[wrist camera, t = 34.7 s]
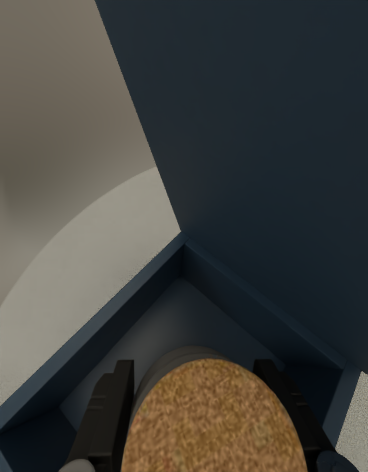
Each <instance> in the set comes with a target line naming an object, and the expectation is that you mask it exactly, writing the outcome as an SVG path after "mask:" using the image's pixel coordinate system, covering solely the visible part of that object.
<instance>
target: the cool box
mask: <svg viewBox="0 0 368 472" xmlns="http://www.w3.org/2000/svg"><path fill="white" fill-rule="evenodd" d="M192 345H194V346H203V347H208V348H211V349H214V350H216V351H218V352H220V353H222V354H223V355H225V356H226V357H228V358H229V359H230V360H232V361H234V362H235V363H236V364H238V365H241V366H242V367H244V368H246V369H248V370H249V371H251V372H253V366H254V361H255V359H272V360H273V362H274V363H275V365H276V367H277V369H278V371H284V372H285V373H286V374H287V375H289V376H290V377H291V378H292V379H293V380H294V381H295V383H296V385H297V386H298V388H299V390H300V391H301V393H302V396H304V398H305V400H306V402H307V403H308V406H309V407H310V408H311V410H312V412H313V413H314V415H315V417H316V418H317V420H318V422H319V423H320V425H321V427H322V428H323V430H324V432H325V433H326V435H327V437H328V439H329V440H330V442H331V444H332V445H333V447H334V448H335V447H336V444H337V441H338V438H339V435H340V432H341V429H342V426H343V423H344V420H345V417H346V414H347V411H348V408H349V406H350V403H351V400H352V397H353V394H354V391H355V388H356V385H357V382H358V379H359V376H360V373H361V370H360V369H359V368H358V367H356V366H355V365H354V364H352V363H351V362H350V361H349V360H347V359H346V358H345V357H343V356H342V355H341V354H340V353H338V352H337V351H336V350H334V349H333V348H332V347H331V346H329V345H328V344H327V343H325V342H324V341H323V340H322V339H320V338H319V337H318V336H316V335H315V334H314V333H312V332H311V331H310V330H309V329H307V328H306V327H305V326H303V325H302V324H301V323H300V322H298V321H297V320H296V319H294V318H293V317H292V316H291V315H289V314H288V313H287V312H285V311H284V310H283V309H282V308H280V307H279V306H278V305H276V304H275V303H274V302H273V301H271V300H270V299H269V298H267V297H266V296H265V295H264V294H262V293H261V292H260V291H258V290H257V289H256V288H255V287H253V286H252V285H251V284H249V283H248V282H247V281H245V280H244V279H243V278H242V277H240V276H239V275H238V274H236V273H235V272H234V271H233V270H231V269H230V268H229V267H227V266H226V265H225V264H224V263H222V262H221V261H220V260H218V259H217V258H216V257H215V256H213V255H212V254H211V253H209V252H208V251H207V250H206V249H204V248H203V247H202V246H200V245H199V244H198V243H197V242H195V241H194V240H193V239H191V238H190V237H189V236H188V235H186V234H185V233H184V232H182V231H181V232H180V233H179V234H178V235H177V236H176V237H175V238H174V239H173V240H172V241H171V242H170V243H169V244H168V245H167V246H166V247H165V248H164V249H163V250H162V251H161V252H160V253H159V254H158V255H156V256H155V257H154V258H153V259H152V260H151V261H150V262H149V263H148V264H147V265H146V266H145V267H144V268H143V269H142V270H141V271H140V272H139V273H138V274H137V275H136V276H135V277H134V278H133V279H132V280H131V281H130V282H128V283H127V284H126V285H125V286H124V287H123V288H122V289H121V290H120V291H119V292H118V293H117V294H116V295H115V296H114V297H113V298H112V299H111V300H110V301H109V302H108V303H107V304H106V305H105V306H104V307H103V308H102V309H100V310H99V311H98V312H97V313H96V314H95V315H94V316H93V317H92V318H91V319H90V320H89V321H88V322H87V323H86V324H85V325H84V326H83V327H82V328H81V329H80V330H79V331H78V332H77V333H76V334H75V335H74V336H72V337H71V338H70V339H69V340H68V341H67V342H66V343H65V344H64V345H63V346H62V347H61V348H60V349H59V350H58V351H57V352H56V353H55V354H54V355H53V356H52V357H51V358H50V359H49V360H48V361H47V362H46V363H44V364H43V365H42V366H41V367H40V368H39V369H38V370H37V371H36V372H35V373H34V374H33V375H32V376H31V377H30V378H29V379H28V380H27V381H26V382H25V383H24V384H23V385H22V386H21V387H20V388H19V389H18V390H16V391H15V392H14V393H13V394H12V395H11V396H10V397H9V398H8V399H7V400H6V401H5V402H4V403H3V404H2V405H1V406H0V472H58V471H59V470H60V469H61V468H62V466H63V465H64V463H65V462H66V460H67V458H68V455H69V453H70V450H71V448H72V445H73V442H74V440H75V437H76V434H77V432H78V429H79V426H80V424H81V421H82V419H83V416H84V413H85V411H86V409H87V405H88V403H89V400H90V399H91V395H92V392H93V389H94V387H95V384H96V383H97V381H98V380H99V379H100V378H101V376H102V375H103V374H104V373H113V372H114V369H115V366H116V362H117V360H134V378H135V389H134V396H135V393H136V391H137V389H138V386H139V384H140V382H141V380H142V378H143V377H144V375H145V374H146V372H147V371H148V370H149V368H150V367H151V366H152V365H153V364H154V363H155V362H156V361H157V360H158V359H159V358H160V357H162V356H163V355H165V354H166V353H168V352H170V351H172V350H174V349H177V348H180V347H184V346H192ZM133 399H134V398H133ZM128 428H129V426H128ZM127 435H128V432H127ZM126 441H127V438H126ZM125 444H126V443H125ZM121 466H122V465H121ZM120 472H121V471H120Z"/></svg>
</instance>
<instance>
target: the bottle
mask: <svg viewBox="0 0 368 472" xmlns="http://www.w3.org/2000/svg"><path fill="white" fill-rule="evenodd" d="M121 472H308V471H307V466H306V461H305V456H304V453H303V449H302V446H301V443H300V440H299V437H298V434H297V432H296V429H295V427H294V425H293V422H292V420H291V418H290V417H289V415H288V413H287V411H286V409H285V407H284V406H283V405H282V403H281V402H280V400H279V399H278V398H277V396H276V395H275V394H274V392H273V391H272V390H271V389H270V388H269V387H268V386H267V385H266V384H265V383H264V382H263V381H262V380H261V379H260V378H259V377H258V376H256V375H255V374H254V373H252V372H251V371H249V370H248V369H246V368H244V367H242V366H241V365H238V364H236V363H235V362H234V361H232V360H230V359H229V358H228V357H226V356H225V355H223V354H222V353H220V352H218V351H216V350H214V349H211V348H208V347H203V346H194V345H192V346H184V347H180V348H177V349H174V350H172V351H170V352H168V353H166V354H165V355H163V356H162V357H160V358H159V359H158V360H157V361H156V362H155V363H154V364H153V365H152V366H151V367H150V368H149V370H148V371H147V372H146V374H145V375H144V377H143V378H142V380H141V382H140V384H139V386H138V389H137V391H136V393H135V396H134V399H133V403H132V406H131V411H130V418H129V428H128V435H127V441H126V444H125V448H124V454H123V459H122V466H121Z"/></svg>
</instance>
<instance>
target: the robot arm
mask: <svg viewBox="0 0 368 472" xmlns="http://www.w3.org/2000/svg"><path fill="white" fill-rule="evenodd" d="M252 373H254V374H255V375H256V376H258V377H259V378H260V379H261V380H262V381H263V382H264V383H265V384H266V385H267V386H268V387H269V388H270V389H271V390H272V391H273V392H274V394H275V395H276V396H277V398H278V399H279V400H280V402H281V403H282V405H283V406H284V407H285V409H286V411H287V413H288V415H289V417H290V418H291V420H292V422H293V425H294V427H295V429H296V432H297V434H298V437H299V440H300V443H301V446H302V449H303V453H304V456H305V461H306V466H307V471H308V472H359V471H358V470H357V468H356V467H355V466H354V465H353V464H352V463H351V462H350V461H349V460H347V459H346V458H345V457H343V456H342V455H340V454H338V453H337V451H336V450H335V448H334V447H333V445H332V444H331V442H330V440H329V439H328V437H327V435H326V433H325V432H324V430H323V428H322V427H321V425H320V423H319V422H318V420H317V418H316V417H315V415H314V413H313V412H312V410H311V408H310V407H309V406H308V403H307V402H306V400H305V398H304V396H302V393H301V391H300V390H299V388H298V386H297V385H296V383H295V381H294V380H293V379H292V378H291V377H290V376H289V375H287V374H286V373H285V372H284V371H278V369H277V367H276V365H275V363H274V362H273V360H272V359H255V361H254V366H253V372H252ZM134 389H135V378H134V360H117V362H116V366H115V369H114V372H113V373H104V374H103V375H102V376H101V378H100V379H99V380H98V381H97V383H96V384H95V387H94V389H93V392H92V395H91V399H90V400H89V403H88V405H87V409H86V411H85V413H84V416H83V419H82V421H81V424H80V426H79V429H78V432H77V434H76V437H75V440H74V442H73V445H72V448H71V450H70V453H69V455H68V458H67V460H66V462H65V463H64V465H63V466H62V468H61V469H60V470H59V471H58V472H120V471H121V465H122V459H123V454H124V448H125V443H126V438H127V432H128V426H129V418H130V411H131V406H132V403H133V398H134Z"/></svg>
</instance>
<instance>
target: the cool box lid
mask: <svg viewBox="0 0 368 472" xmlns="http://www.w3.org/2000/svg"><path fill="white" fill-rule="evenodd" d="M95 2H96V4H97V8H98V10H99V12H100V16H101V18H102V21H103V24H104V26H105V29H106V31H107V34H108V37H109V40H110V42H111V45H112V47H113V50H114V53H115V55H116V58H117V61H118V64H119V66H120V69H121V72H122V74H123V77H124V80H125V82H126V85H127V88H128V90H129V93H130V96H131V98H132V101H133V104H134V106H135V109H136V112H137V114H138V117H139V120H140V123H141V125H142V128H143V131H144V133H145V136H146V138H147V141H148V144H149V147H150V149H151V152H152V154H153V157H154V160H155V163H156V165H157V168H158V171H159V173H160V176H161V179H162V181H163V184H164V187H165V189H166V192H167V195H168V198H169V200H170V203H171V206H172V208H173V211H174V214H175V216H176V219H177V222H178V224H179V227H180V230H181V231H182V232H184V233H185V234H186V235H188V236H189V237H190V238H191V239H193V240H194V241H195V242H197V243H198V244H199V245H200V246H202V247H203V248H204V249H206V250H207V251H208V252H209V253H211V254H212V255H213V256H215V257H216V258H217V259H218V260H220V261H221V262H222V263H224V264H225V265H226V266H227V267H229V268H230V269H231V270H233V271H234V272H235V273H236V274H238V275H239V276H240V277H242V278H243V279H244V280H245V281H247V282H248V283H249V284H251V285H252V286H253V287H255V288H256V289H257V290H258V291H260V292H261V293H262V294H264V295H265V296H266V297H267V298H269V299H270V300H271V301H273V302H274V303H275V304H276V305H278V306H279V307H280V308H282V309H283V310H284V311H285V312H287V313H288V314H289V315H291V316H292V317H293V318H294V319H296V320H297V321H298V322H300V323H301V324H302V325H303V326H305V327H306V328H307V329H309V330H310V331H311V332H312V333H314V334H315V335H316V336H318V337H319V338H320V339H322V340H323V341H324V342H325V343H327V344H328V345H329V346H331V347H332V348H333V349H334V350H336V351H337V352H338V353H340V354H341V355H342V356H343V357H345V358H346V359H347V360H349V361H350V362H351V363H352V364H354V365H355V366H356V367H358V368H359V369H360V370H361V371H363V372H364V373H365V374H368V0H95Z"/></svg>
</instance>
